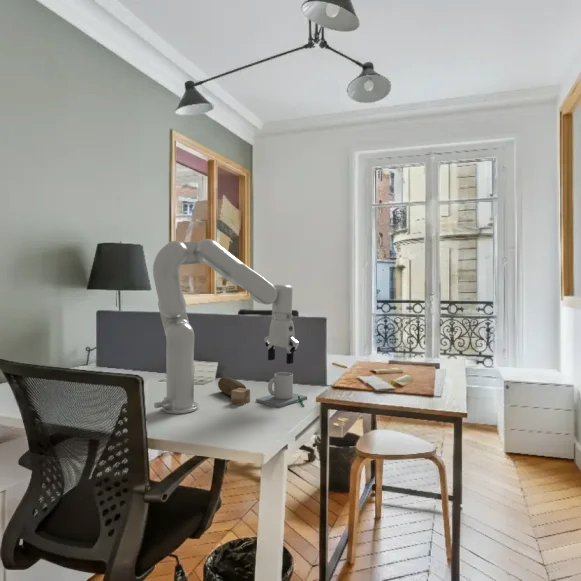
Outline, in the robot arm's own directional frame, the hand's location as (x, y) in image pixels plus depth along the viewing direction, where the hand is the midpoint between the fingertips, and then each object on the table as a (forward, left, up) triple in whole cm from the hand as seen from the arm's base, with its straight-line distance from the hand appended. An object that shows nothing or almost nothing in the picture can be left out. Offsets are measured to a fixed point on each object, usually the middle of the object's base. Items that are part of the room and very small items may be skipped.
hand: (280, 361), depth 175 cm
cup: (0, 0, -14) cm, 14 cm away
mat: (+1, 0, -15) cm, 15 cm away
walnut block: (-12, +9, -15) cm, 21 cm away
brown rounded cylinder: (-7, +20, -15) cm, 26 cm away
